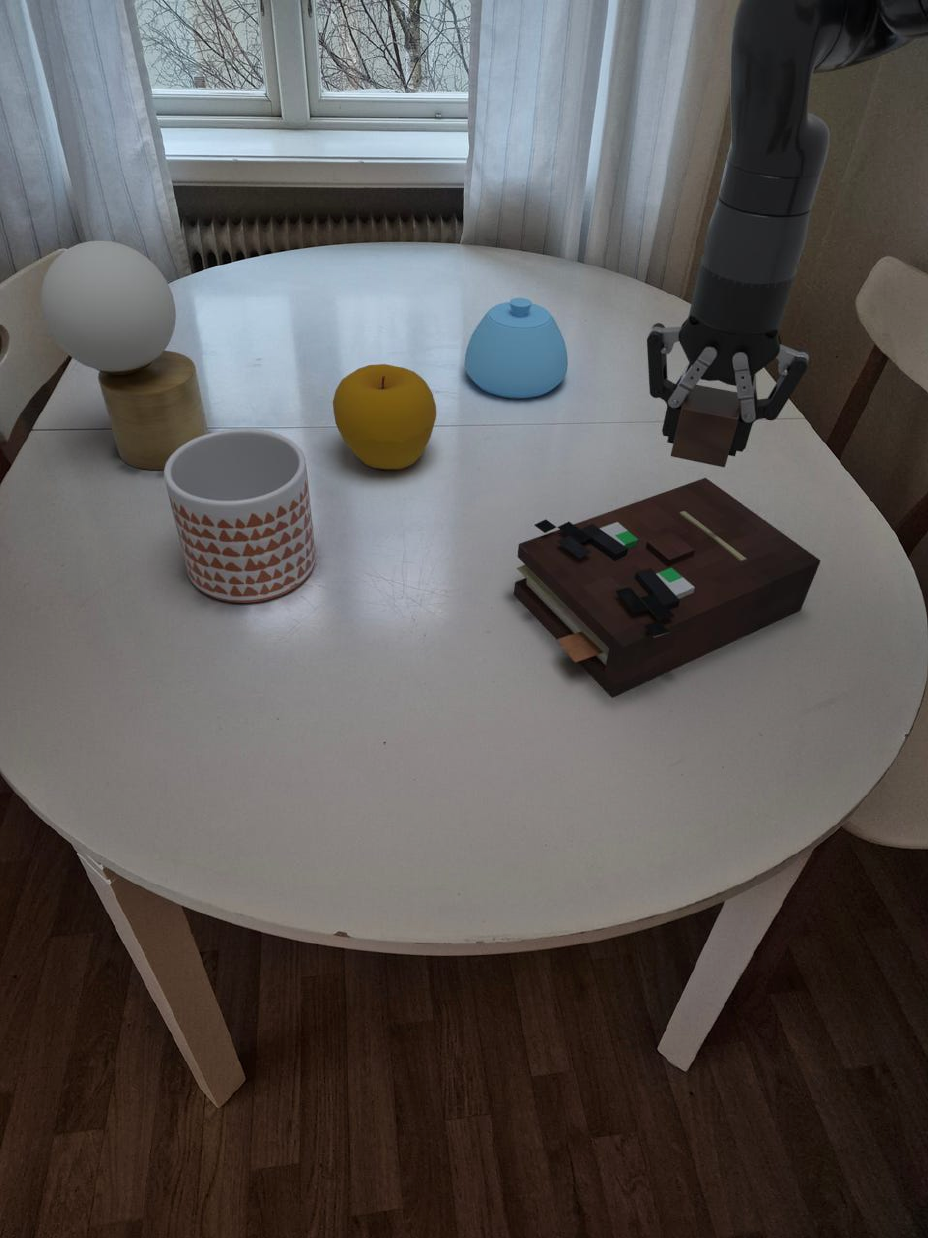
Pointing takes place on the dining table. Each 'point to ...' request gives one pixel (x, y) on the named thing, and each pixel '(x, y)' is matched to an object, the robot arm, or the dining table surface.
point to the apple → (385, 415)
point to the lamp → (126, 346)
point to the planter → (242, 513)
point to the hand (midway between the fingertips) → (702, 444)
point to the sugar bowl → (517, 351)
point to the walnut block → (706, 426)
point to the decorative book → (661, 582)
